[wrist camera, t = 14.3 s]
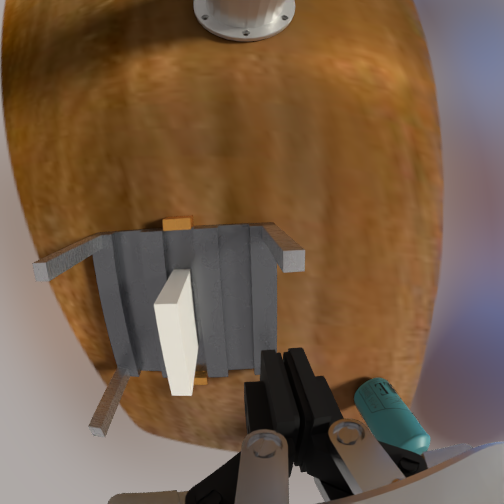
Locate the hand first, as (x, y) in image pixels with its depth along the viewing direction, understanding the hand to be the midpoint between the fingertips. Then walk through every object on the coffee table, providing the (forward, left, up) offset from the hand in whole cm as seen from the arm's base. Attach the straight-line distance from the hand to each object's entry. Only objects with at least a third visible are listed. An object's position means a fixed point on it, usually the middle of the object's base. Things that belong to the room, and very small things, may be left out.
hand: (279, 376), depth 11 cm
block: (+7, -7, -22) cm, 24 cm away
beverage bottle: (+23, +19, -23) cm, 38 cm away
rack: (+6, -7, -23) cm, 25 cm away
